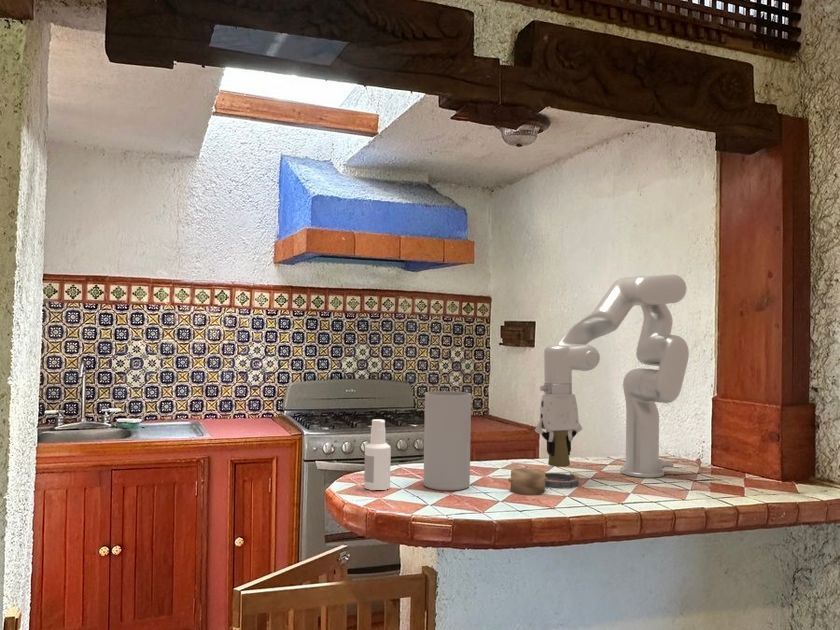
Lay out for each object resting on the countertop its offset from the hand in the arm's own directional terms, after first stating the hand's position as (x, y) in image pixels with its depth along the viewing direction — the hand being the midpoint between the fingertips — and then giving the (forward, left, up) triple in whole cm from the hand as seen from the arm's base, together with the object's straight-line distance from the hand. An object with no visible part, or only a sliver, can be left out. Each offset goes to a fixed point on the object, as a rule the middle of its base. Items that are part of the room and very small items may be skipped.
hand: (558, 454), depth 193 cm
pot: (+12, +8, -8) cm, 17 cm away
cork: (0, 0, -3) cm, 3 cm away
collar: (+1, 0, -8) cm, 8 cm away
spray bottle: (+51, -1, -8) cm, 52 cm away
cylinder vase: (+32, -1, -8) cm, 33 cm away
